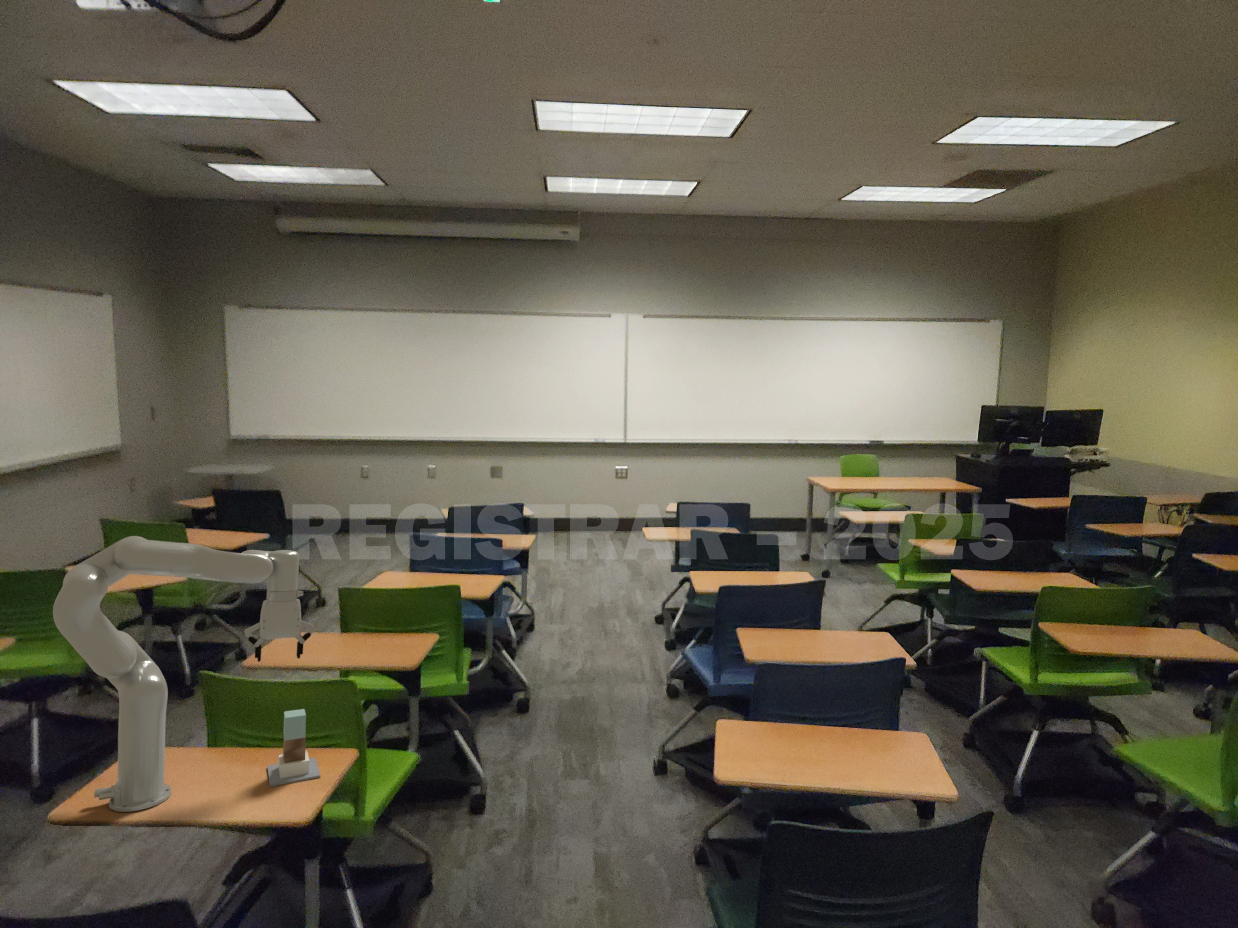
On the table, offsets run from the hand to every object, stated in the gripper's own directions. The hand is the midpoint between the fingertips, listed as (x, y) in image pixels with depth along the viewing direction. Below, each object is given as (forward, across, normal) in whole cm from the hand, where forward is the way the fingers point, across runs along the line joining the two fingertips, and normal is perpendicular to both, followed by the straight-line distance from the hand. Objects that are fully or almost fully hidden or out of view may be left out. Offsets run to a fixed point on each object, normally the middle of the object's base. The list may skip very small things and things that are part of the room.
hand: (278, 658), depth 189 cm
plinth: (+30, -5, +5) cm, 30 cm away
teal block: (+20, -4, +5) cm, 21 cm away
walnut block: (+26, -5, +5) cm, 27 cm away
